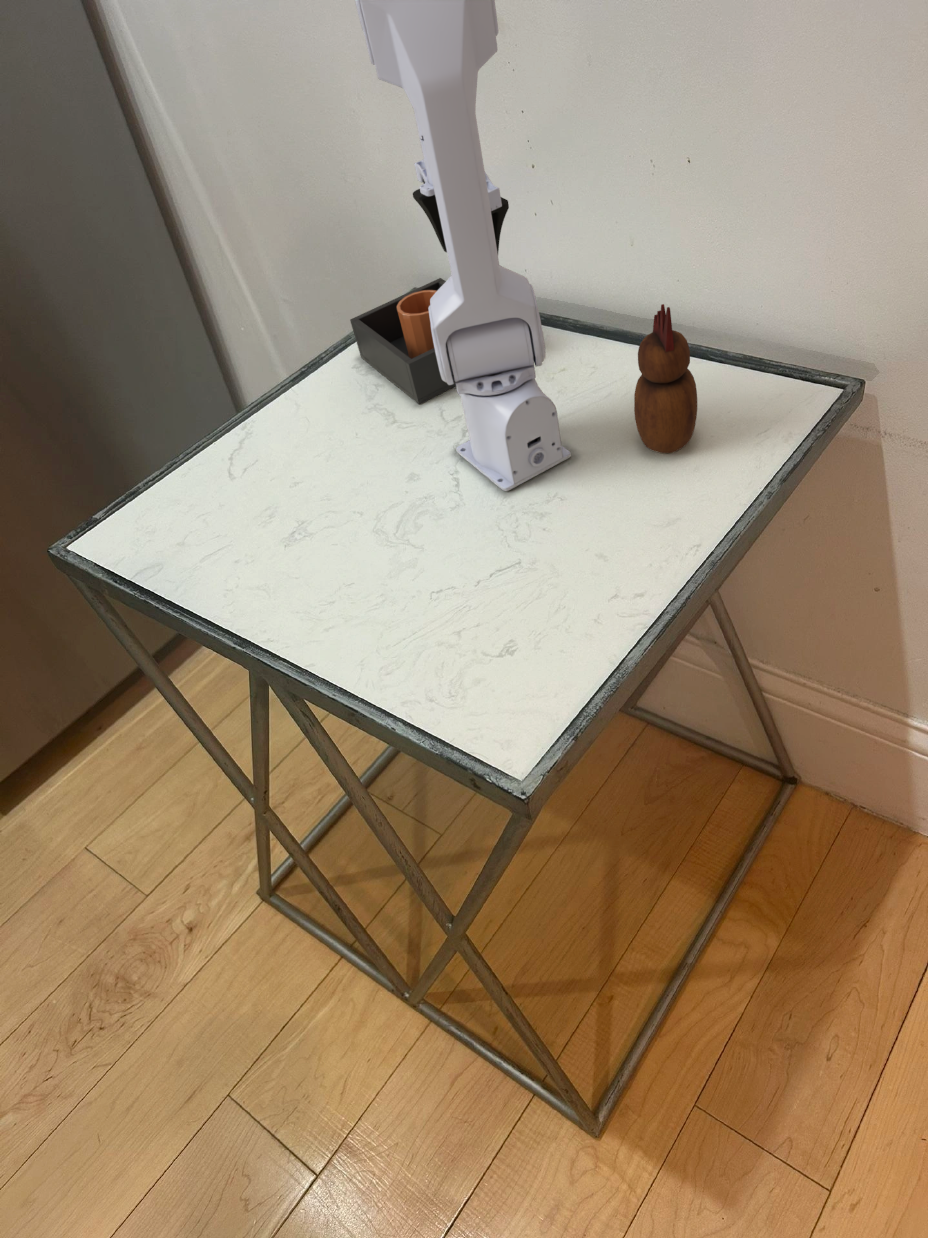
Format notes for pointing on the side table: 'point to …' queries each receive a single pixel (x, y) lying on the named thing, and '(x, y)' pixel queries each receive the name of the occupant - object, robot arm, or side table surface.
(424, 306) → the pot
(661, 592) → the side table surface
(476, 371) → the robot arm
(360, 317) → the dark grey storage bin
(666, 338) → the wooden figurine
